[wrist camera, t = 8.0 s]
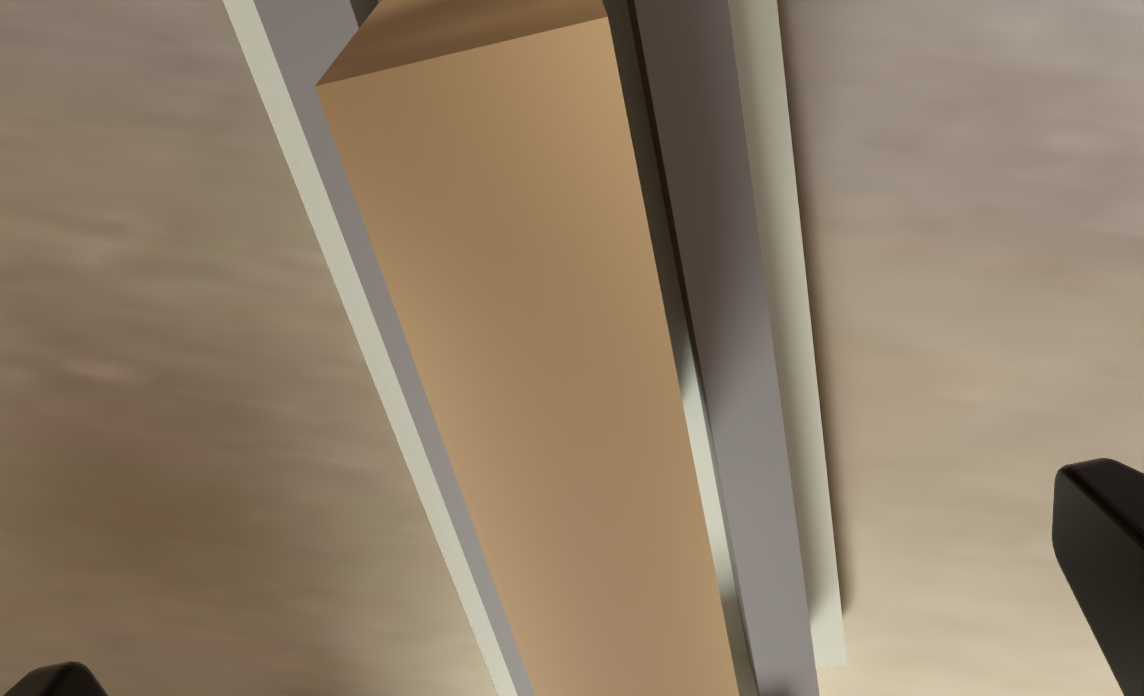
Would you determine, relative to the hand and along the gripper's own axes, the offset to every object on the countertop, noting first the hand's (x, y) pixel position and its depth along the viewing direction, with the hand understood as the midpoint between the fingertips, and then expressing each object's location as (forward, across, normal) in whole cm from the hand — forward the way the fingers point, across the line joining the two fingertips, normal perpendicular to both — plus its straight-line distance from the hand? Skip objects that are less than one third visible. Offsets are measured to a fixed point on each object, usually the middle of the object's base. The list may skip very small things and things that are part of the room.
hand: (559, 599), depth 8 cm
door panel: (+8, 0, 0) cm, 8 cm away
